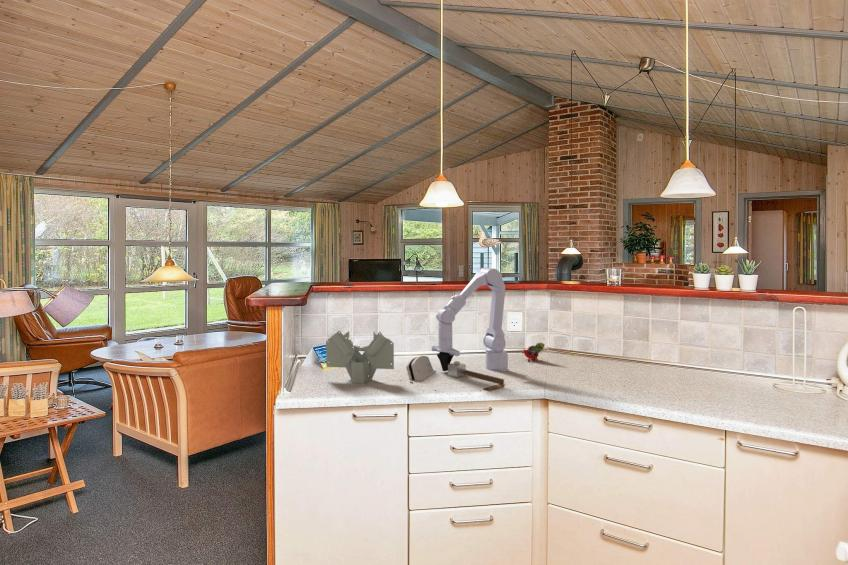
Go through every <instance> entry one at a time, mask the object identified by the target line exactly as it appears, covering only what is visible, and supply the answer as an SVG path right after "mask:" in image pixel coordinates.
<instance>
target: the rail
mask: <svg viewBox="0 0 848 565" xmlns="http://www.w3.org/2000/svg"><path fill="white" fill-rule="evenodd" d="M446 376H448V377H452V378H455V379H458V378H463V377H467V376H468V377H471V378H476V379H480V380H484V381H488V382H491V383H493V384H495V385H492V386H491V385H490V386H488V387H484V388H482V390H483V391H488V392H493V391H495V390H500V389H502V388H505V385H504V384H505V383H504V382H505V379H504V378H500V377H497V376H492V375H489V374H484V373H481V372H476V371H473V370H467V369H466V375H465V376H461V377H453V376H449V375H448V374H446Z"/></svg>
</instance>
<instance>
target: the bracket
mask: <svg viewBox="0 0 848 565" xmlns="http://www.w3.org/2000/svg"><path fill="white" fill-rule="evenodd" d="M372 334H373V337H372V338H373V339H372V340H371V342H370V343H369V344H368V345H364V346H362V347H361V346H360V345H354V342H353V341H352V339H349V338H350V330H348V331H347V332H345V333H344V334H343V333H342V331H341V330H338V331H337V332H335V333H334V334H333V335H331V336H330V337H329V338H328V339H327V340H326V341H325V355H326V356H325V359H326V360H325V362H326V368H345V369H346V371H347V374H348V376H349V378H350V380H351V382H352V383H354V384H364V383H365V382H369V381H371V380H373V378H374V375H375V373H376V371H377V369H378V370H380V369H381V370H394V369H395V359H394V358H395V357H394V356H395V352H394V351H395V350H394V348H395V347H394V346H395V343H394V342H393V341H392V340H391V339H389V338H387V337H385V336H384V335H383V333H382V332H381V331H379V332H377V334H376V332H375V331H373V333H372ZM361 352H363V353H361Z"/></svg>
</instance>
